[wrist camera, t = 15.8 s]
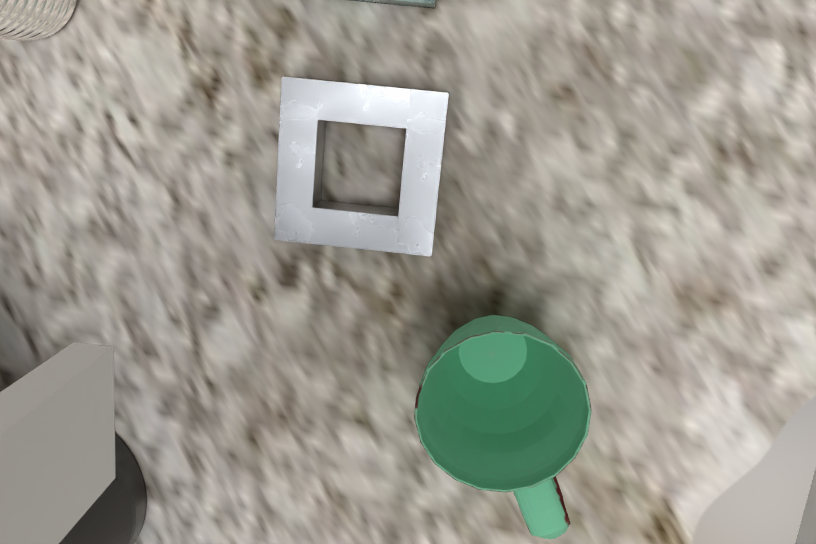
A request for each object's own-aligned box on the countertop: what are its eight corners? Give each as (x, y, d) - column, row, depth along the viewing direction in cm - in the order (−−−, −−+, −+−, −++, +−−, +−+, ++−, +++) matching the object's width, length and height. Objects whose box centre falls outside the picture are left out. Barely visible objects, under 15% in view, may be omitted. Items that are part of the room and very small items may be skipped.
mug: (399, 311, 49) (386, 367, 40) (535, 260, 48) (556, 304, 38) (477, 489, 52) (482, 581, 43) (607, 446, 51) (642, 531, 41)
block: (284, 230, 48) (274, 239, 45) (292, 77, 46) (281, 76, 43) (432, 245, 48) (431, 256, 45) (448, 92, 45) (448, 92, 42)
